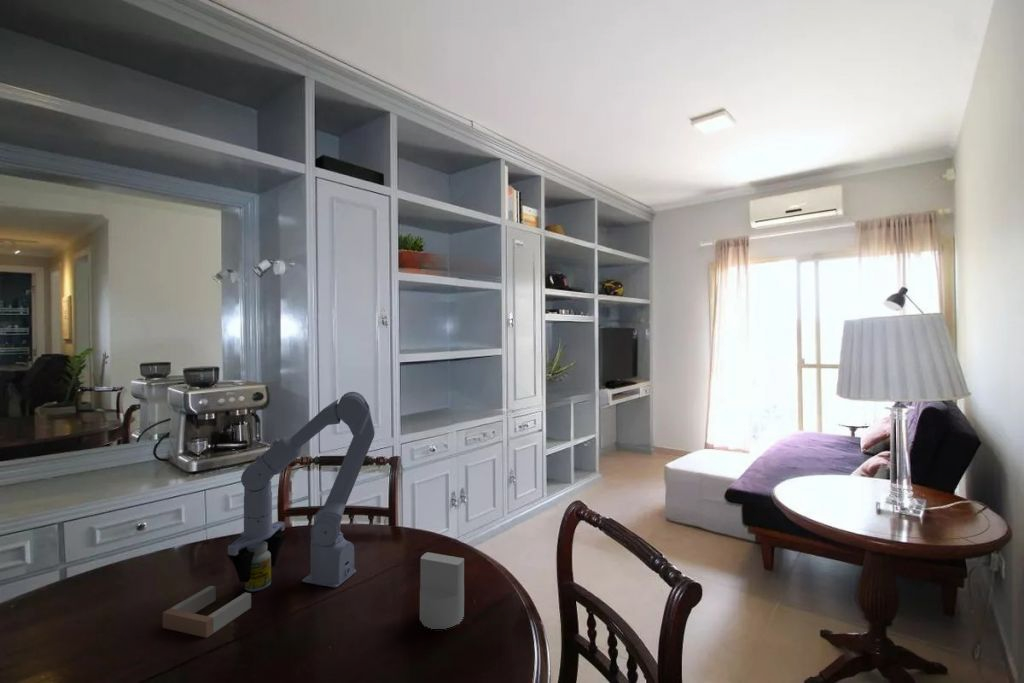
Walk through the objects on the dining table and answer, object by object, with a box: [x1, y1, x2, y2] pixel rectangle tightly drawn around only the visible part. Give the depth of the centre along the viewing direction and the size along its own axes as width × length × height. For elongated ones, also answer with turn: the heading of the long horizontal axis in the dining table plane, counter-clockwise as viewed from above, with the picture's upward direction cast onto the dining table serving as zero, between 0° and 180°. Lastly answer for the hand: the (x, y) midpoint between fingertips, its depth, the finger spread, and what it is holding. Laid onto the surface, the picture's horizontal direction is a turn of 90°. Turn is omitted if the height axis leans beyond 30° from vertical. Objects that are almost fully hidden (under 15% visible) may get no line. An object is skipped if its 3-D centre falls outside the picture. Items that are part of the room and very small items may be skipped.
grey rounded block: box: [419, 552, 465, 630], centre depth 97 cm, size 9×9×12 cm
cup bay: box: [162, 585, 252, 638], centre depth 96 cm, size 11×10×3 cm
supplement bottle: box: [244, 541, 272, 592], centre depth 109 cm, size 5×5×10 cm
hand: (257, 573), depth 109 cm, fingers open, 7 cm apart
